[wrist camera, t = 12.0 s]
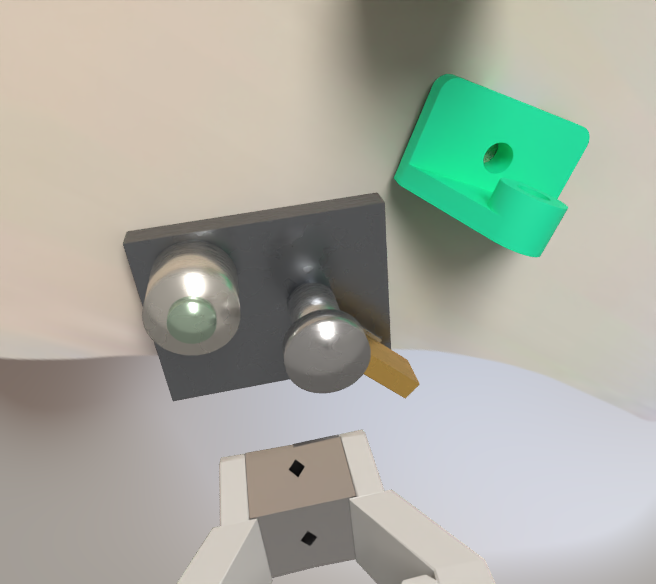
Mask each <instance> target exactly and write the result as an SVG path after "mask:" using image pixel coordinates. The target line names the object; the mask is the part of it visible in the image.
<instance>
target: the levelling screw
mask: <svg viewBox="0 0 656 584" xmlns="http://www.w3.org/2000/svg"><path fill="white" fill-rule="evenodd" d="M288 309H289V313H290V318H291V322H292V325H291V327H290V328H289V329H288V331H287V332H286V334H285V337H284V340H283V345H282V351H283V357H284V363H285V368H286V372H287V374H288V376H289V378H290V379H291V380H292V382H293V383H294V384H296V385H297V386H298V387H300V388H301V389H304V390H306V391H309V392H314V393H331V392H335V391H339V390H342V389H344V388H346V387H348V386H350V385H352V384H353V383H354V382H356V381H357V380H358V379H359V378H360V377H361V376H362V375H363V374H364V375H366V376H368V377H369V378H371V379H373V380H375V381H376V382H378V383H380V384H382V385H383V386H385V387H387V388H388V389H390V390H392V391H393V392H395V393H397V394H399V395H400V396H402V397H404V398H406V397H407V396H408V395H409V394H410V393H411V392H412V391H413V390H414V389H415V388H416V387H418V385H419V382H418V380H417V378H416V376H415V374H414V372H413V370H412V368H411V366H410V364H409V362H408V360H407V359H405V358H403V357H402V356H400V355H398V354H397V353H395V352H394V351H392V350H391V349H389V348H388V347H386V346H384V345H383V344H381V343H380V342H378V341H376V340H375V339H373V338H372V337H370V336H368V335H367V334H365V333H364V330H363V328H362V326H361V324H360V323H359V322H358V321H357V320H356V319H355V318H354V317H353V316H352V315H350V314H348V313H346V312H343V311H340V309H339V306H338V303H337V301H336V298H335V295H334V293H333V291H332V290H331V289H330V288H329V287H328V286H326V285H324V284H321V283H316V282H312V283H306V284H303V285H301V286H299V287H298V288H296V289H295V290H294V291H293V293H292V294H291V296H290V298H289V301H288Z"/></svg>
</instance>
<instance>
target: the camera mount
mask: <svg viewBox="0 0 656 584" xmlns="http://www.w3.org/2000/svg"><path fill="white" fill-rule="evenodd" d="M496 143H498V149H497V152H496V154H495V156H494V157H493V158H492V159H491V160H490V161H488V162H486V163H483V159H484V155H485V153H486V151H487V150H488V149H489V148H490V147H491V146H492V145H494V144H496ZM588 143H589V132H588V130H587V129H586V128H585V127H583V126H580V125H578V124H575V123H573V122H571V121H568V120H566V119H563V118H561V117H558V116H556V115H553V114H551V113H548V112H545V111H543V110H541V109H538V108H536V107H533V106H531V105H528V104H526V103H523V102H521V101H518V100H516V99H513V98H511V97H508V96H506V95H503V94H501V93H498V92H496V91H493V90H491V89H488V88H486V87H483V86H480V85H478V84H475V83H473V82H470V81H468V80H465V79H463V78H460V77H458V76H455V75H452V74H445V75H442V76H440V77H439V78H438V79H437V80H436V81H435V82H434V84H433V86H432V88H431V90H430V93H429V95H428V98H427V100H426V102H425V105H424V107H423V109H422V112H421V114H420V117H419V119H418V121H417V124H416V126H415V129H414V131H413V133H412V136H411V138H410V140H409V143H408V145H407V148H406V150H405V152H404V155H403V157H402V160H401V162H400V164H399V167H398V169H397V172H396V174H395V176H394V179H395V180H396V182H397V183H398V184H399V185H400V186H402V187H403V188H405V189H407V190H408V191H410V192H412V193H413V194H415V195H417V196H418V197H420V198H422V199H423V200H425V201H427V202H428V203H430V204H432V205H433V206H435V207H437V208H438V209H440V210H442V211H443V212H445V213H447V214H448V215H450V216H452V217H453V218H455V219H457V220H458V221H460V222H462V223H464V224H465V225H467V226H469V227H470V228H472V229H474V230H475V231H477V232H479V233H480V234H482V235H484V236H485V237H487V238H489V239H490V240H492V241H494V242H495V243H497V244H499V245H501V246H503V247H505V248H507V249H510V250H512V251H514V252H517V253H520V254H523V255H526V256H531V257H540V256H541V254H542V252H543V251H544V249H545V247H546V245H547V244H548V242H549V240H550V238H551V237H552V235H553V233H554V232H555V230H556V228H557V226H558V225H559V223H560V221H561V219H562V218H563V216H564V214H565V212H566V211H567V209H568V207H567V206H566V205H565V204H564V203H562V202H561V201H559V200H558V197H559V195H560V193H561V191H562V190H563V188H564V186H565V184H566V183H567V181H568V179H569V177H570V176H571V174H572V172H573V170H574V168H575V167H576V165H577V163H578V161H579V160H580V158H581V156H582V154H583V152H584V151H585V149H586V147H587V145H588Z"/></svg>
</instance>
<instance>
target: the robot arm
mask: <svg viewBox="0 0 656 584" xmlns="http://www.w3.org/2000/svg"><path fill="white" fill-rule="evenodd" d="M219 481H220V482H219V487H220V526H219V527H215V528H212V530H211V531H210V533H209V534H208V536H207V537H206V539H205V541H204V542H203V544H202V545H201V547H200V548H199V550H198V551H197V553H196V554H195V556H194V558H193V559H192V561H191V562H190V564H189V565H188V567H187V568H186V570H185V572H184V573H183V575H182V576H181V578H180V579H179V581H178V582H177V584H271V583H272V578H274V577H278V576H282V575H286V574H290V573H294V572H297V571H302V570H306V569H310V568H313V567H319V566H324V565H328V564H334V563H339V562H344V561H349V560H354V559H356V561H357V563H358V564H359V565H360V566H361V567H362V568H363V569H364V570H365V571H366V572H367V573H368V574H369V575H370V577H371V578H372V579H373V580H374V581H375V582H376V583H377V584H496V583H495V581H494V579H493V577H492V574H491V572H490V570H489V568H488V566H487V564H486V561H485V559H483V558H482V557H480V556H479V555H478V554H476V553H475V552H474V551H473V550H471V549H470V548H468V547H467V546H466V545H465V544H463V543H462V542H461V541H459V540H458V539H457V538H455V537H454V536H453V535H451V534H450V533H448V532H447V531H446V530H444V529H443V528H442V527H441V526H439V525H438V524H437V523H435V522H434V521H433V520H431V519H430V518H429V517H427V516H426V515H425V514H423V513H422V512H420V511H419V510H418V509H417V508H415V507H414V506H413V505H411V504H410V503H409V502H407V501H406V500H405V499H403V498H402V497H401V496H399V495H398V494H397V493H395V492H394V491H393V490H387V491H384V488H383V485H382V482H381V479H380V476H379V473H378V470H377V467H376V464H375V461H374V458H373V455H372V452H371V449H370V446H369V443H368V440H367V437H366V434H365V432H364V431H363V430H358V431H354V432H348V433H344V434H340V435H334V436H329V437H324V438H320V439H315V440H310V441H306V442H301V443H296V444H293V445H288V446H283V447H277V448H271V449H266V450H260V451H254V452H249V453H246V454H240V455H234V456H228V457H223V458H221V459H220V464H219ZM313 564H314V565H313Z"/></svg>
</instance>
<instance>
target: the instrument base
mask: <svg viewBox="0 0 656 584" xmlns="http://www.w3.org/2000/svg"><path fill="white" fill-rule="evenodd" d="M123 246H124V249H125V252H126V255H127V258H128V261H129V265H130V268H131V271H132V274H133V277H134V280H135V283H136V287H137V290H138V293H139V296H140V299H141V302H142V305H143V312H142V318H143V323H144V327H145V329H146V331H147V333H148V334H149V336H150V337H151V338H152V340H154V343H155V346H156V349H157V353H158V356H159V359H160V362H161V365H162V368H163V371H164V375H165V378H166V381H167V384H168V387H169V390H170V393H171V396H172V400H173V401H177V400H182V399H187V398H193V397H197V396H203V395H209V394H214V393H219V392H224V391H230V390H234V389H240V388H245V387H251V386H256V385H261V384H266V383H272V382H277V381H283V380H287V379H290V378H289V376H288V374H287V372H286V368H285V363H284V357H283V351H282V345H283V340H284V337H285V334H286V332H287V331H288V329H289V328H290V327H291V325H292V322H291V318H290V313H289V309H288V301H289V298H290V296H291V294H292V293H293V291H294V290H295V289H296V288H298V287H299V286H301V285H303V284H306V283H312V282H316V283H321V284H324V285H326V286H328V287H329V288H330V289H331V290H332V291H333V293H334V295H335V298H336V301H337V303H338V306H339V309H340V311H343V312H346V313H348V314H350V315H352V316H353V317H354V318H355V319H356V320H357V321H358V322H359V323H360V324H361V326H362V328H363V330H364V333H365V334H367V335H368V336H370V337H372V338H373V339H375V340H376V341H378V342H380V343H381V344H383V345H384V346H386V347H388V348H389V349H391V340H390V317H389V293H388V270H387V247H386V224H385V202H384V201H383V200H382V198H381V197H380V196H379V194H378V193H372V194H365V195H359V196H353V197H346V198H340V199H333V200H327V201H321V202H314V203H308V204H301V205H295V206H289V207H282V208H276V209H269V210H263V211H257V212H250V213H244V214H237V215H231V216H225V217H218V218H212V219H205V220H199V221H193V222H186V223H180V224H173V225H167V226H160V227H154V228H148V229H141V230H135V231H128V232H127V233H126V236H125V239H124V242H123Z"/></svg>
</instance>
